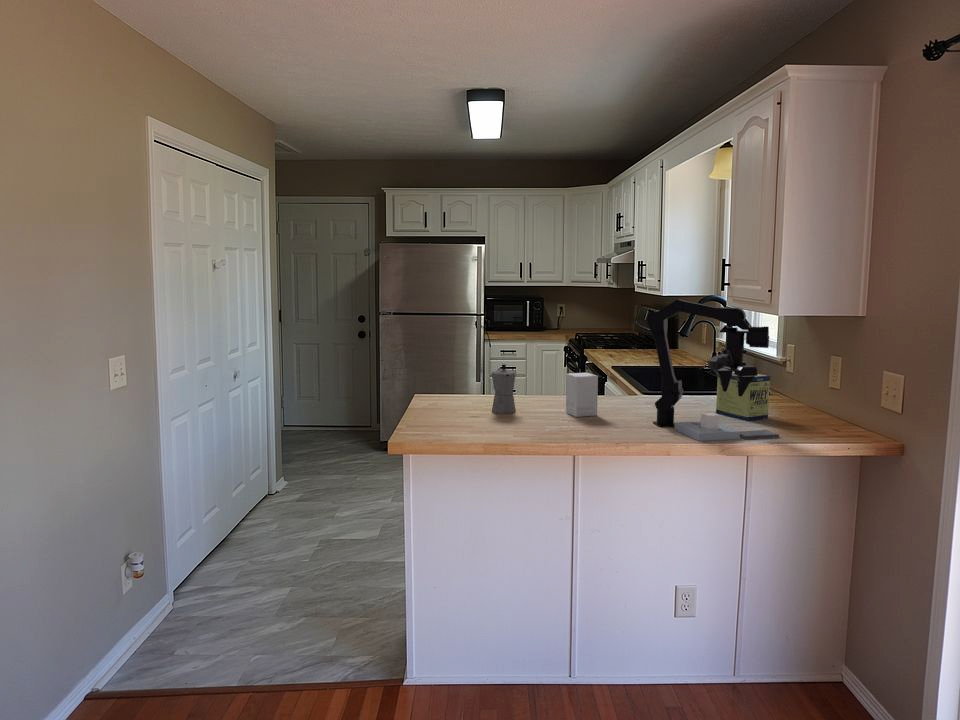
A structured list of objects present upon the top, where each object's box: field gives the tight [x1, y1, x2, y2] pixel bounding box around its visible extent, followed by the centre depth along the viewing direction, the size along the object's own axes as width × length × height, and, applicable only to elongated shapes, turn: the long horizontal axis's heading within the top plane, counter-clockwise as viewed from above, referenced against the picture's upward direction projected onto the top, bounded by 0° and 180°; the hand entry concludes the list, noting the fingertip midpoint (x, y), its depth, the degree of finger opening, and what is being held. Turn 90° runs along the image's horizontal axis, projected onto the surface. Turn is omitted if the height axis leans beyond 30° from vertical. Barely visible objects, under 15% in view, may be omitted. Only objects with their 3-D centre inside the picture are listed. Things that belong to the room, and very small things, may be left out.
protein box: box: [715, 371, 771, 422], centre depth 251 cm, size 10×16×16 cm
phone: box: [739, 429, 780, 440], centre depth 221 cm, size 6×12×1 cm, turn 101°
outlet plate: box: [674, 420, 741, 442], centre depth 224 cm, size 16×14×2 cm
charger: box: [700, 412, 720, 431], centre depth 222 cm, size 4×4×7 cm
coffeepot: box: [491, 364, 517, 415], centre depth 261 cm, size 15×9×18 cm, turn 11°
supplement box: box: [565, 372, 599, 418], centre depth 254 cm, size 9×9×15 cm
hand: (732, 393), depth 226 cm, fingers open, 9 cm apart
